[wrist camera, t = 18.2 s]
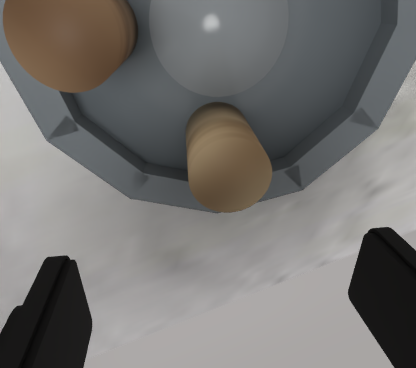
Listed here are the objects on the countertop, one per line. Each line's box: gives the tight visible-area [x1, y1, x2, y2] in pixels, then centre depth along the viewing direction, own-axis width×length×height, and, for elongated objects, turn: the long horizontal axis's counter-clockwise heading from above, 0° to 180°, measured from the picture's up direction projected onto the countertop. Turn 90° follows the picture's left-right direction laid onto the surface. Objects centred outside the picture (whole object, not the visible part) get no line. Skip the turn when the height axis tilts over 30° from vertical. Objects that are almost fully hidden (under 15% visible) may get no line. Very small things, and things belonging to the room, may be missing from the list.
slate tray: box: [0, 0, 416, 213], centre depth 17 cm, size 23×23×3 cm
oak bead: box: [186, 102, 272, 212], centre depth 17 cm, size 4×4×6 cm
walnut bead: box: [3, 0, 138, 93], centre depth 14 cm, size 4×4×6 cm
